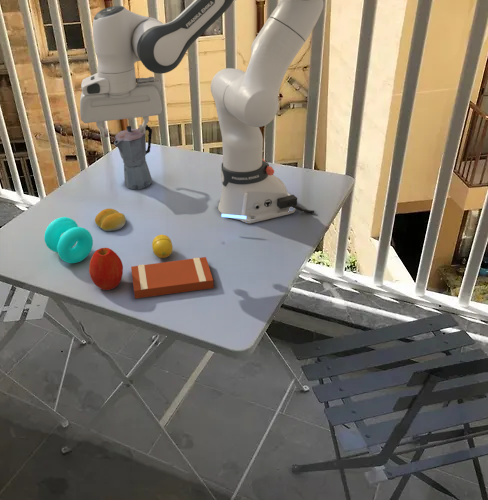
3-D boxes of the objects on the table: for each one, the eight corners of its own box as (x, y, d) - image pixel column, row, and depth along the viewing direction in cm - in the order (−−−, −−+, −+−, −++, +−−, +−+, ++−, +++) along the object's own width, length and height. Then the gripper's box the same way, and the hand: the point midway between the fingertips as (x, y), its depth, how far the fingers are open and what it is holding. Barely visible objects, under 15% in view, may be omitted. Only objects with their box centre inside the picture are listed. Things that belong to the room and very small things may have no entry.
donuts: (78, 241, 156) (72, 210, 151) (97, 255, 150) (91, 223, 144) (46, 255, 151) (39, 223, 146) (64, 271, 145) (57, 238, 139)
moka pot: (111, 188, 181) (103, 129, 170) (144, 170, 191) (138, 114, 180) (132, 196, 176) (125, 136, 165) (165, 177, 185) (160, 119, 174)
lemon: (148, 243, 150) (156, 228, 147) (165, 249, 152) (173, 234, 149) (150, 259, 144) (159, 243, 141) (168, 265, 145) (177, 249, 143)
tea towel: (206, 264, 143) (205, 256, 142) (213, 288, 135) (213, 279, 133) (132, 274, 142) (131, 266, 140) (135, 298, 133) (133, 290, 132)
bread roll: (109, 235, 158) (107, 223, 156) (91, 224, 164) (89, 212, 161) (132, 224, 162) (131, 212, 160) (114, 213, 168) (112, 201, 166)
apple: (115, 270, 143) (110, 235, 137) (131, 286, 138) (126, 250, 132) (86, 282, 140) (79, 246, 134) (101, 299, 134) (94, 262, 128)
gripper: (159, 72, 138) (163, 125, 145) (75, 80, 136) (84, 134, 144) (161, 79, 133) (166, 134, 140) (75, 88, 131) (84, 144, 139)
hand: (124, 134), depth 142 cm, fingers open, 8 cm apart
